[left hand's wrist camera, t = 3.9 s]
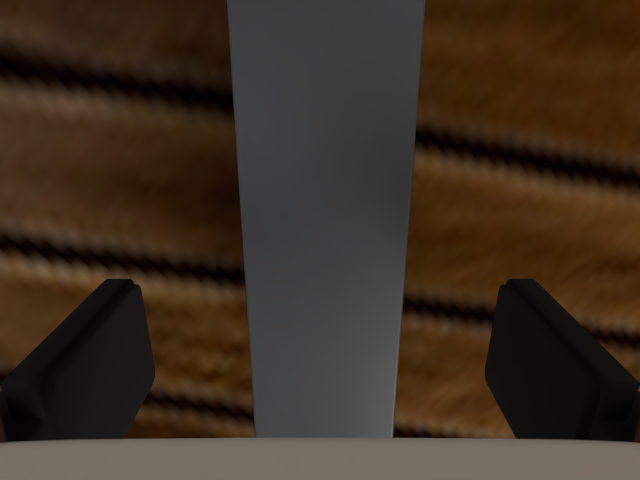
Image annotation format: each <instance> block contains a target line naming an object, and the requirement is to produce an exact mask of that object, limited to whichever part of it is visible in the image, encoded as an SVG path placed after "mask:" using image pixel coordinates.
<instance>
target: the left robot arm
mask: <svg viewBox="0 0 640 480" xmlns="http://www.w3.org/2000/svg"><path fill="white" fill-rule="evenodd" d="M154 378H155V366H154V361H153V355H152V349H151V344H150V338H149V332H148V326H147V321H146V315H145V309H144V304H143V298H142V292H141V288H140V286H139V285H138V284H134V283H133V281H132V280H131V279H106V280H105V281H104V282H103V283H102V284H101V285H100V286H99V287H98V288H97V289H96V290H95V291H94V292H93V293H92V294H91V295H90V296H88V297H87V298H86V299H85V300H84V301H83V302H82V303H81V304H80V305H79V306H78V307H77V308H76V309H75V310H74V311H73V312H72V313H71V314H70V315H69V316H68V317H67V318H66V319H65V320H64V321H63V322H62V323H61V324H60V325H59V326H58V327H57V328H56V329H55V330H54V331H53V332H52V333H51V334H50V335H49V336H48V337H47V338H46V339H45V340H44V341H43V342H41V343H40V344H39V345H38V346H37V347H36V348H35V349H34V350H33V351H32V352H31V353H30V354H29V355H28V356H27V357H26V358H25V359H24V360H23V361H22V362H21V363H20V364H19V365H18V366H17V367H16V368H15V369H14V370H13V371H12V372H11V373H10V374H9V375H8V376H7V377H6V378H5V379H4V380H3V381H2V382H1V383H0V385H1V388H2V391H1V392H0V480H640V392H639V391H638V388H639V385H640V383H639V382H638V381H637V380H636V379H635V378H634V377H633V376H632V375H631V374H630V373H629V372H628V371H627V370H626V369H625V368H624V367H623V366H622V365H621V364H620V363H619V362H618V361H617V360H616V359H615V358H614V357H613V356H612V355H611V354H610V353H609V352H608V351H607V350H606V349H605V348H604V347H603V346H602V345H601V344H600V343H598V342H597V341H596V340H595V339H594V338H593V337H592V336H591V335H590V334H589V333H588V332H587V331H586V330H585V329H584V328H583V327H582V326H581V325H580V324H579V323H578V322H577V321H576V320H575V319H574V318H573V317H572V316H571V315H570V314H569V313H568V312H567V311H566V310H565V309H564V308H563V307H562V306H561V305H560V304H559V303H558V302H557V301H556V300H555V299H554V298H553V297H552V296H550V295H549V294H548V293H547V292H546V291H545V290H544V289H543V288H542V287H541V286H540V285H539V284H538V283H537V282H536V281H535V280H534V279H509V280H508V281H507V283H506V284H502V285H501V286H500V288H499V292H498V298H497V304H496V309H495V315H494V321H493V326H492V332H491V338H490V344H489V349H488V355H487V361H486V366H485V378H486V382H487V384H488V386H489V388H490V390H491V392H492V394H493V396H494V397H495V399H496V401H497V403H498V405H499V407H500V409H501V411H502V413H503V414H504V416H505V418H506V420H507V422H508V424H509V426H510V428H511V429H512V431H513V433H514V435H515V437H516V439H464V438H176V439H124V437H125V435H126V433H127V431H128V429H129V428H130V426H131V424H132V422H133V420H134V418H135V416H136V414H137V413H138V411H139V409H140V407H141V405H142V403H143V401H144V399H145V397H146V396H147V394H148V392H149V390H150V388H151V386H152V384H153V382H154Z"/></svg>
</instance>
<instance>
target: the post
mask: <svg viewBox="0 0 640 480" xmlns="http://www.w3.org/2000/svg"><path fill="white" fill-rule="evenodd" d="M424 12H425V0H227V14H228V29H229V44H230V59H231V75H232V90H233V105H234V120H235V135H236V151H237V166H238V181H239V196H240V212H241V227H242V242H243V257H244V272H245V288H246V303H247V318H248V333H249V349H250V364H251V379H252V394H253V409H254V425H255V438H393V429H394V416H395V403H396V389H397V376H398V362H399V349H400V335H401V322H402V308H403V295H404V281H405V268H406V255H407V241H408V228H409V214H410V201H411V187H412V174H413V160H414V147H415V134H416V120H417V107H418V93H419V80H420V66H421V53H422V39H423V26H424Z"/></svg>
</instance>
